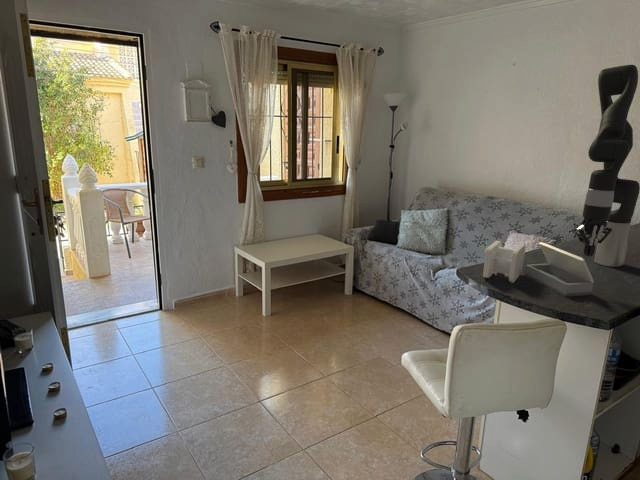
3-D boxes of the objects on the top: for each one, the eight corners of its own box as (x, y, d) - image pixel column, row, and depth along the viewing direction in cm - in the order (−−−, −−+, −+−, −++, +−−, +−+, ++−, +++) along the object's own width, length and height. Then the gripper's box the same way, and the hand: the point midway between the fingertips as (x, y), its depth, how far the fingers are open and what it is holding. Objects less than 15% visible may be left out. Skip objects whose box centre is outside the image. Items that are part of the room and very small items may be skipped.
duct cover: (548, 263, 163) (550, 261, 163) (592, 283, 144) (594, 281, 144) (538, 243, 159) (541, 241, 160) (582, 260, 141) (584, 258, 141)
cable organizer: (512, 286, 151) (517, 253, 148) (480, 279, 157) (484, 247, 154) (522, 274, 163) (526, 243, 160) (492, 268, 169) (496, 238, 165)
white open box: (547, 273, 164) (549, 263, 163) (591, 294, 145) (593, 283, 144) (523, 275, 162) (525, 264, 161) (564, 296, 143) (566, 284, 142)
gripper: (605, 201, 148) (595, 251, 153) (571, 201, 145) (562, 253, 150) (625, 205, 141) (614, 258, 146) (590, 206, 138) (580, 259, 143)
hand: (588, 255), depth 148 cm, fingers closed
